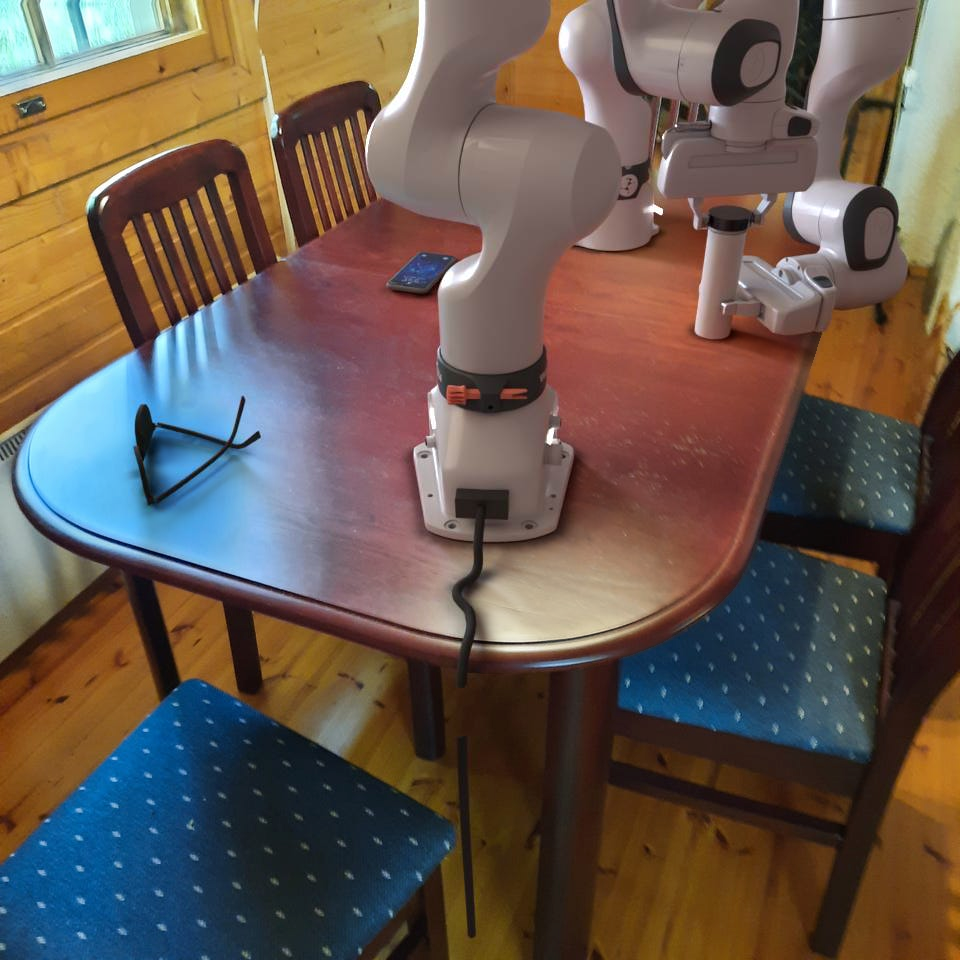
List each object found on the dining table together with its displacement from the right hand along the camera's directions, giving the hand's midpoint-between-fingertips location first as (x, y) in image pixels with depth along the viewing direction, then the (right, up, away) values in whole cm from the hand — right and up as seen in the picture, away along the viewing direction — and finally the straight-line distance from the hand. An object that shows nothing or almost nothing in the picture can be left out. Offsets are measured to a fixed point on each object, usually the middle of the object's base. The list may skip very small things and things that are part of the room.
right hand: (711, 299), depth 122 cm
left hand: (+1, +9, -6) cm, 11 cm away
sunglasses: (-66, -23, -20) cm, 73 cm away
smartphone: (-43, +9, +22) cm, 49 cm away
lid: (+1, +10, -7) cm, 12 cm away
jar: (+1, -4, +3) cm, 5 cm away
